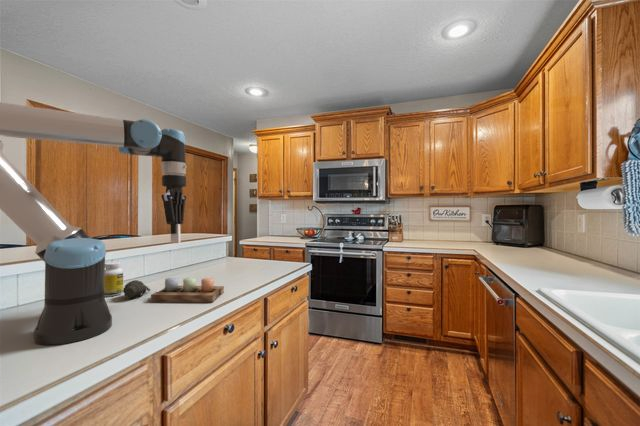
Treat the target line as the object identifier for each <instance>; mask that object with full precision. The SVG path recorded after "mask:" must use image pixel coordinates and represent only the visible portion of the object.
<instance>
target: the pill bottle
mask: <svg viewBox="0 0 640 426" xmlns="http://www.w3.org/2000/svg"><path fill="white" fill-rule="evenodd" d="M121 265H122V263H121V262H120V261H119V262H118V261H112V262H105V289H104V297H106V298H107V297H116V296H120V295H122V294H124V293H123V289H124V270H123V269H122V268H121Z"/></svg>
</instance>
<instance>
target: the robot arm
mask: <svg viewBox="0 0 640 426" xmlns="http://www.w3.org/2000/svg"><path fill="white" fill-rule="evenodd" d="M0 137H4V138H5V137H6V138H15V139H16V138H18V139H28V140H29V139H30V140H40V141H51V142H60V143H63V142H64V143H73V144H84V145H85V144H87V145H94V146H97V145H98V146H108V147H117V149H118V152H119V153H121V154H123V155H130V156H142V157H143V156H145V157H156V158H160V159H161V174H162V176H161V185H162V187H164V188H165V194H161V200H162V203H163V209H164V215H165V222H166V225H170V244H180V243H182V242H181V240H182V239H181V236H182V235H181V225H183V224H184V219H185V218H184V217H185V210H186V209H185V207H186V200H187V196H186V195H183V193H184V192H183V188H185V187H187V177H186V176H185V175H187V171H186V170H187V168H188V167H187V165H186V137H185V133H184V132H183V131H182V130H179V129H175V128H163V129H161V128H160V126H159V125H158V124H157V123H155V121H153V120H150V119H146V118H144V119H143V118H142V119H138V120H129V119H128V120H126V119H120V118H112V117H105V116H98V115H92V114H91V115H90V114H85V113H78V112H72V111H65V110H56V109H51V108H44V107H37V106H36V107H35V106H29V105H22V104H15V103H8V102H2V101H1V102H0ZM3 148H4V143H3V142H2V141H1V140H0V210H1V211H2V213H4V214H5V216H7V217H8V218H9V219H10V220H11V221H12V222H13V223H14V224H15V225H16V226H17V227H18V228H19V229H20V230H21V231H22V232H23V233H24V234H25V235H26V236H27V237H28V238H29V239H30V240H31V241H32V242H34V243H35V244H36V246H35V247H36V248H35V251H34V254H36V255H37V256H38V257H39V258H40V259H41V260H42V261H43V262H44V265H45V266H44V303H43V304H44V306H43V309H42V311H41V314H40V315H39V319H38V321H37V325H36V326H35V328H34V330H33V342H34V343H35V344H38V345H46V346H52V345H55V346H56V345H64V344H69V343H75V342H79V341H83V340H86V339H90V338H92V337H95V336H99V335H102V333H105V332H107V331H108V330H109V329H111V327H112V326H113V316H112V314H111V312H110V308H109V306H108V304H107V301H106V299H105V296H104V289H105V270H106V268H105V263H106V254H107V249H106V244H105V242H103V241H102V240H100V239H98V238H97V239H95V238H92V237H90V236H89V234H87V232H86V231H85V230H84V229H83V228H81V227H80V226H73V225H71V224H70V223H69V222H68V221H67V220H66V219H65V218H64V217H63V215H61V214H60V212H58V211H57V209H56V208H54V206H53V205H52V204H51V203H50V202H49V201H48V199H46V198H45V196H43V195H42V194H41V193H40V191H39V190H38V189H37V188H36V187H35V186H34V185H33V184H32V183H31V182H30V180H28V178H26V176H25V175H24V174H23V173H22V172H21V171H20V170H19V169H18V167H16V165H14V163H12V162H11V161H10V159H8V157H7V156H6V155H5V154H4V153H3Z"/></svg>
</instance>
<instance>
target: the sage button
mask: <svg viewBox="0 0 640 426" xmlns="http://www.w3.org/2000/svg"><path fill="white" fill-rule="evenodd" d="M182 281H183V282H182V283H183V284H182V286H183V291H184V292H192V291H195V290H196V286H197V278H196V277H195V278H194V277H187V278H183V280H182Z"/></svg>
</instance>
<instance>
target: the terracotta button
mask: <svg viewBox="0 0 640 426" xmlns="http://www.w3.org/2000/svg"><path fill="white" fill-rule="evenodd" d="M200 281H201V285H200V286H201V291H202V292H211V291H213V290H214V286H215V283H214V282H215V279H214V278H213V277H212V278H211V277H206V278H202V279H201V280H200Z"/></svg>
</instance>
